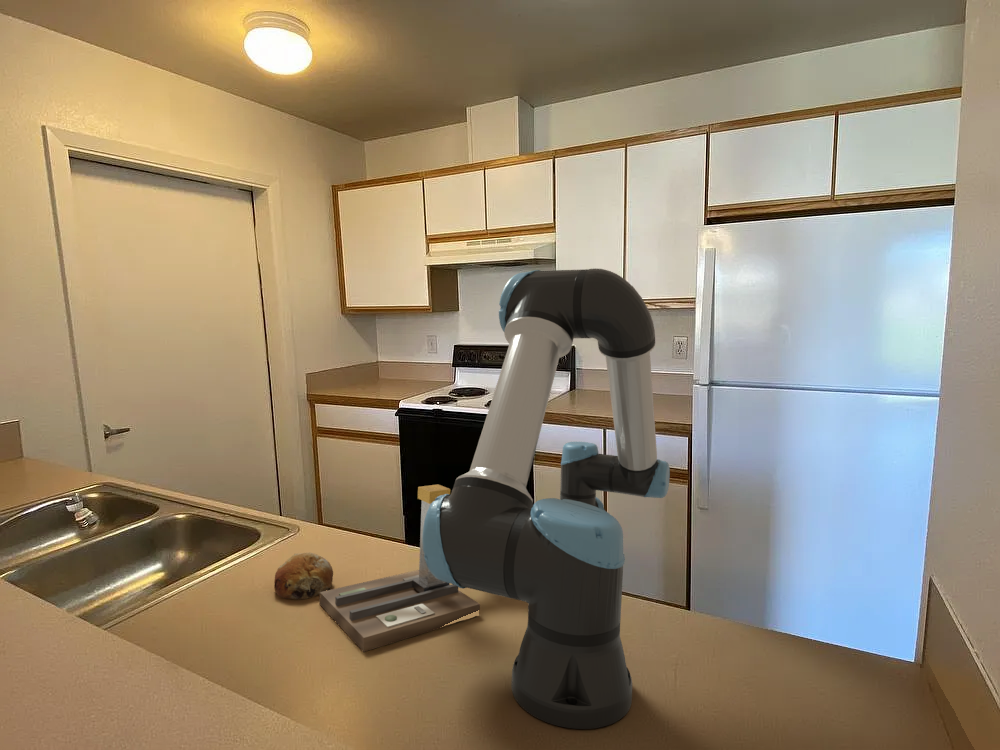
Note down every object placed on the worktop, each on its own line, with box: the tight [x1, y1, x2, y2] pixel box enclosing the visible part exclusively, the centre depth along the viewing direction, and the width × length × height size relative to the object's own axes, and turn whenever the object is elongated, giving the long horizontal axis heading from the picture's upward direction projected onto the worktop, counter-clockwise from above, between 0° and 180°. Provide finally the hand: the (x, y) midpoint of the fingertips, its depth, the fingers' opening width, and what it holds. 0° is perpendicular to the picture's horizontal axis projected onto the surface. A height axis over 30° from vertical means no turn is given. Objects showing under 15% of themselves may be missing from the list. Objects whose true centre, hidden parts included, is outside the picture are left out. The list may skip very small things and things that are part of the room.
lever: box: [412, 484, 451, 593], centre depth 93 cm, size 4×5×17 cm
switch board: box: [319, 569, 481, 653], centre depth 90 cm, size 18×20×3 cm
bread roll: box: [273, 552, 334, 600], centre depth 97 cm, size 10×10×8 cm
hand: (442, 542), depth 96 cm, fingers closed
